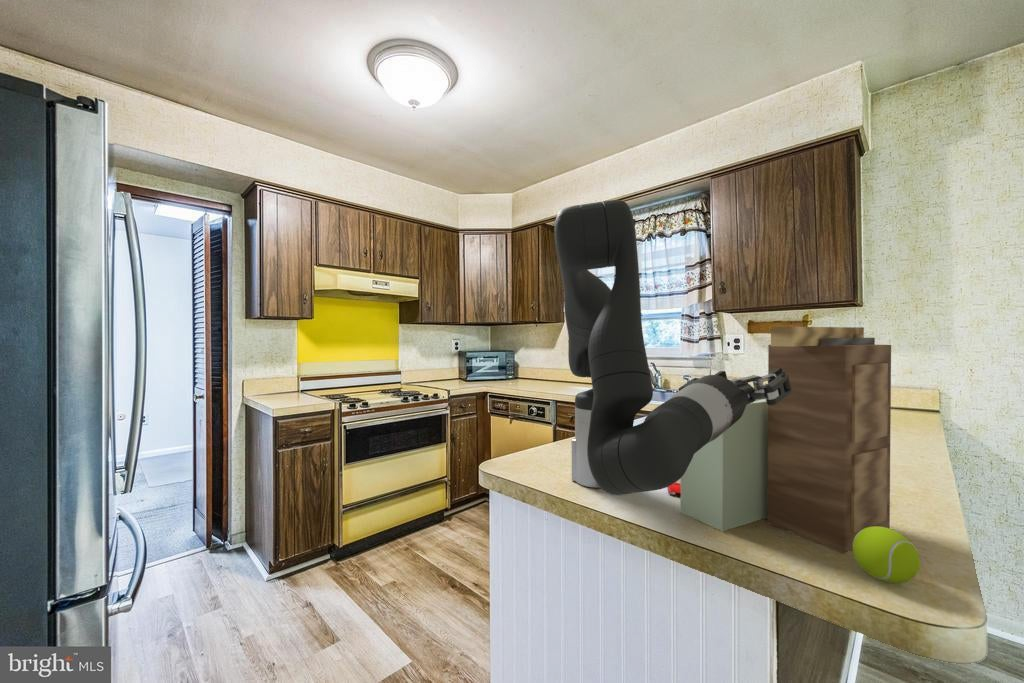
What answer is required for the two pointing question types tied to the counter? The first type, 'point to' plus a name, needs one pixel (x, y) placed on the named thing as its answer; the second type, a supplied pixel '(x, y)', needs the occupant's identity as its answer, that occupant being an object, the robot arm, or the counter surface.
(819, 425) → the wooden cabinet
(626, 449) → the robot arm
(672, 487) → the toy car
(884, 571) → the tennis ball
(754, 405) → the tall sage green block
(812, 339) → the wooden plank
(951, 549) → the counter surface
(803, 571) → the counter surface
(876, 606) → the counter surface
